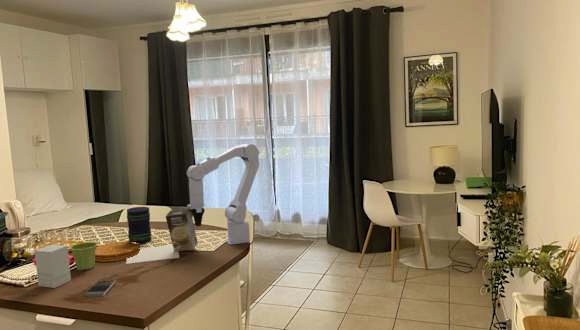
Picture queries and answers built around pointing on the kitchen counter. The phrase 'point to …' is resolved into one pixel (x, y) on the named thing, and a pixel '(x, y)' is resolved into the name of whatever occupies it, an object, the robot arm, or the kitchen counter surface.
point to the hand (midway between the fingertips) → (198, 225)
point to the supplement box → (52, 266)
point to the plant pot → (84, 255)
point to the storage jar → (139, 225)
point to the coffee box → (181, 229)
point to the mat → (153, 254)
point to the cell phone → (100, 288)
